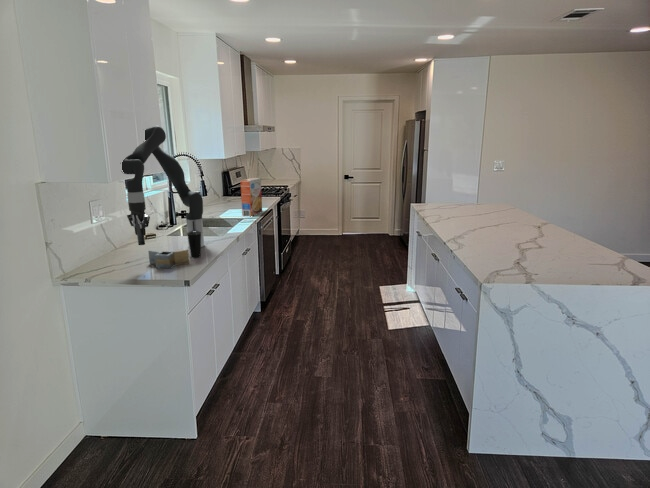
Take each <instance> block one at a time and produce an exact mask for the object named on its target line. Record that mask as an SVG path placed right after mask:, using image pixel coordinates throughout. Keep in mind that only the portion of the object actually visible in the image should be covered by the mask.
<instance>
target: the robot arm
mask: <svg viewBox="0 0 650 488" xmlns="http://www.w3.org/2000/svg"><path fill="white" fill-rule="evenodd" d="M145 129H146V130H145V140H146V141H145V142H144V141H143V142H142V143H140V144H139V145H138V146H137V147H136V148H135V149H134V151H132V153H131V154H129V155H128V156H126V157H124V158H125V159H124V158H123V159H124V160H123V159H122V160H123V162H122V170H123V172H124V173H123V172H122V173H123V174H124V175H134V177H133V178H131V179H128V180H126V182H125V183H126V191H127V203H128V210H129V212H130V214H127V215H126V218H127V219H128V222H129V224H130V226H131V227H133V228H134V234H135V235H136V236H137V230H136V222H135V217H136V218H137V220H138V224H139V225H140V228H141V229H140V231H141V236H144V237H145V236H146V234H147V233H146V232H147V231H146V228H148V227H149V224H150V220H151V216H149V215H147V214H146V212H145V211H146V200H145V193H144V188H143V178H144V173H145V165H144V164H145V163H146V162H147V160H148V159H149V157H150V156H151V154H152V155H153V156H154V158H155V159H156V160H157V162H158V163H159V165H160V166H161V168H162V170H163V172H164V174H165V176H167V178H168V180H169V182H170V183H171V184H172V186H173V187H174V189H175V190H176V192H177V195H178V196H179V198H180V200H181V202H182V204H183V205H184V206H185V207H188V208H189V212H188V213H185V221H186V222H185V223H186V234H187V233H188V232H190V231H193V221H194V229H195V230H196V231H199V232H201V248H203V247H205V239H204V238H205V235H204V225H203V213H204V203H203V202H204V200H203V196H202V194H201V193H199V192H196V191H191V189H190V188H189V187H188V185H187V183H186V179H185V178H186V177H185V173H184V170H183V168H182V166H181V165H180V163H179V161H178V160H177V159H176V158H175V157H173V156H172V155H170V154H168V153H166V152H165V151H164V150H162V148H160V145H162V144H163V143H164V142H165V141H166V137H167V136H166V135H167V134H166V131H165V130H164V128H162V127H161V126H160V125H154V126H151V127H148V128H145ZM141 221H142V222H141ZM142 224H143V226H142ZM187 245H188V248H190V245H189V240H188V239H187Z"/></svg>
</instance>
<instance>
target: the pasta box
mask: <svg viewBox="0 0 650 488" xmlns="http://www.w3.org/2000/svg"><path fill="white" fill-rule="evenodd" d="M240 194H241V195H240V196H241V198H240V199H241V216H250V217H249V218H252V217H251V216H253V215H255V216H257V215H259V214H261V213H260V212H262V213H263V202H262V201H263V200H262V199H263V197H262V178H261V177H250V178H247V179H246V178H244V179H242V180H240ZM258 213H259V214H258ZM256 214H257V215H256ZM253 217H254V216H253Z"/></svg>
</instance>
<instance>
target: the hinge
mask: <svg viewBox="0 0 650 488" xmlns="http://www.w3.org/2000/svg"><path fill="white" fill-rule="evenodd" d="M147 252H148V259H149V260H148V261H149V265H155V266H156V267H155V268H156V269H167V270H169V269H172V268H173V267H174V266H177V265H179V266H180V265H184V264H189V263H190V255H189V249H185V250H184V249H183V250H177V251H167V250H166V251H165V250H163V251H156V250H148V251H147Z"/></svg>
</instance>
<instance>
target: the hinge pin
mask: <svg viewBox="0 0 650 488" xmlns="http://www.w3.org/2000/svg"><path fill="white" fill-rule="evenodd" d="M135 222H136V230H137V235H136V236H137V238H136V239H137V243H138V244H137V245H138V246H145V245H146V240H145V235H144V236H141V231H140V229H141V228H140V225H139V224H138V220H137V218H136V217H135ZM141 222H143V221H141ZM142 226H143V224H142Z"/></svg>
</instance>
